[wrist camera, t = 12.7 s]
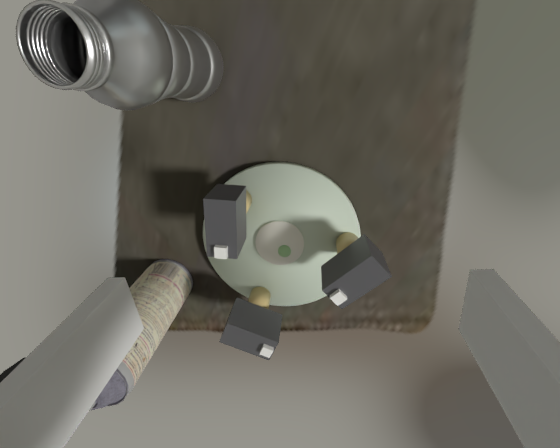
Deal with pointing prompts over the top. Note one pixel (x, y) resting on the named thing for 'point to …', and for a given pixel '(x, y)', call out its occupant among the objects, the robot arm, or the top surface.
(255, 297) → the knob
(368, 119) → the top surface
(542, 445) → the robot arm
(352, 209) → the base
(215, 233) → the dark grey rectangular block
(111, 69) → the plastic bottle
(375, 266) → the grey block on peg
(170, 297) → the aerosol can
